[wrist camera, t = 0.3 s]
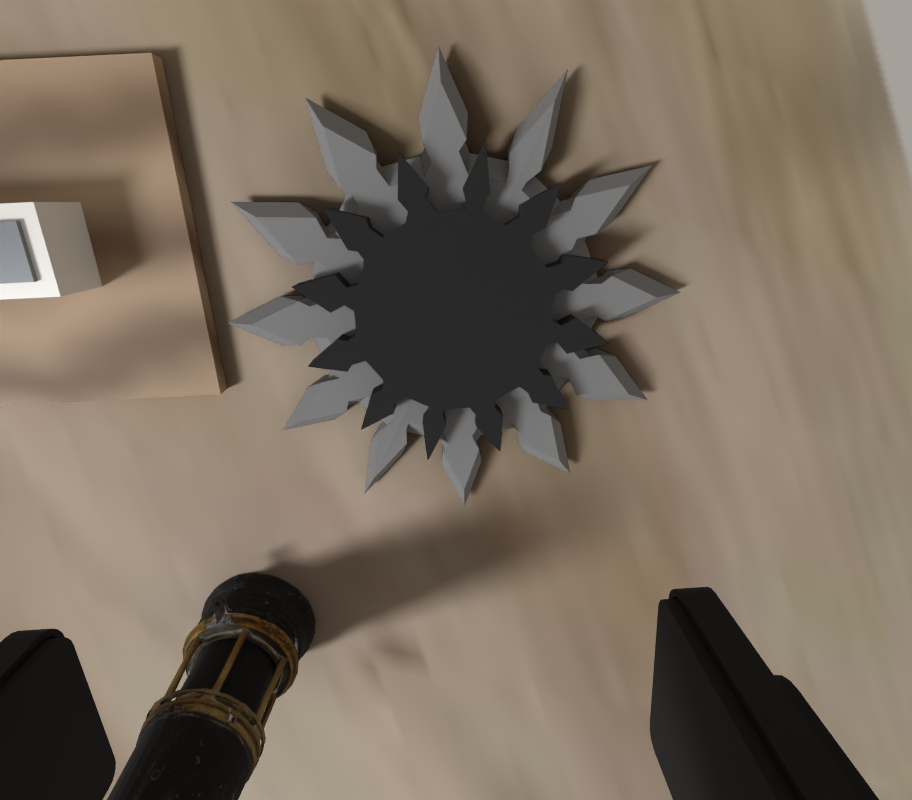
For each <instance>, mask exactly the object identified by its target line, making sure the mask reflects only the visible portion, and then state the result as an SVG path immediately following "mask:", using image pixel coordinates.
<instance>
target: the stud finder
mask: <svg viewBox="0 0 912 800" xmlns="http://www.w3.org/2000/svg"><path fill="white" fill-rule="evenodd" d="M98 287H102V283H101V279H100V275H99V271H98V267H97V264H96V260H95V256H94V252H93V248H92V244H91V241H90V237H89V233H88V229H87V225H86V221H85V218H84V214H83V210H82V206H81V202H23V203H3V204H0V300H3V299H24V298H44V297H61V296H65V295H70V294H74V293H78V292H82V291H86V290H90V289H94V288H98Z"/></svg>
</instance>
